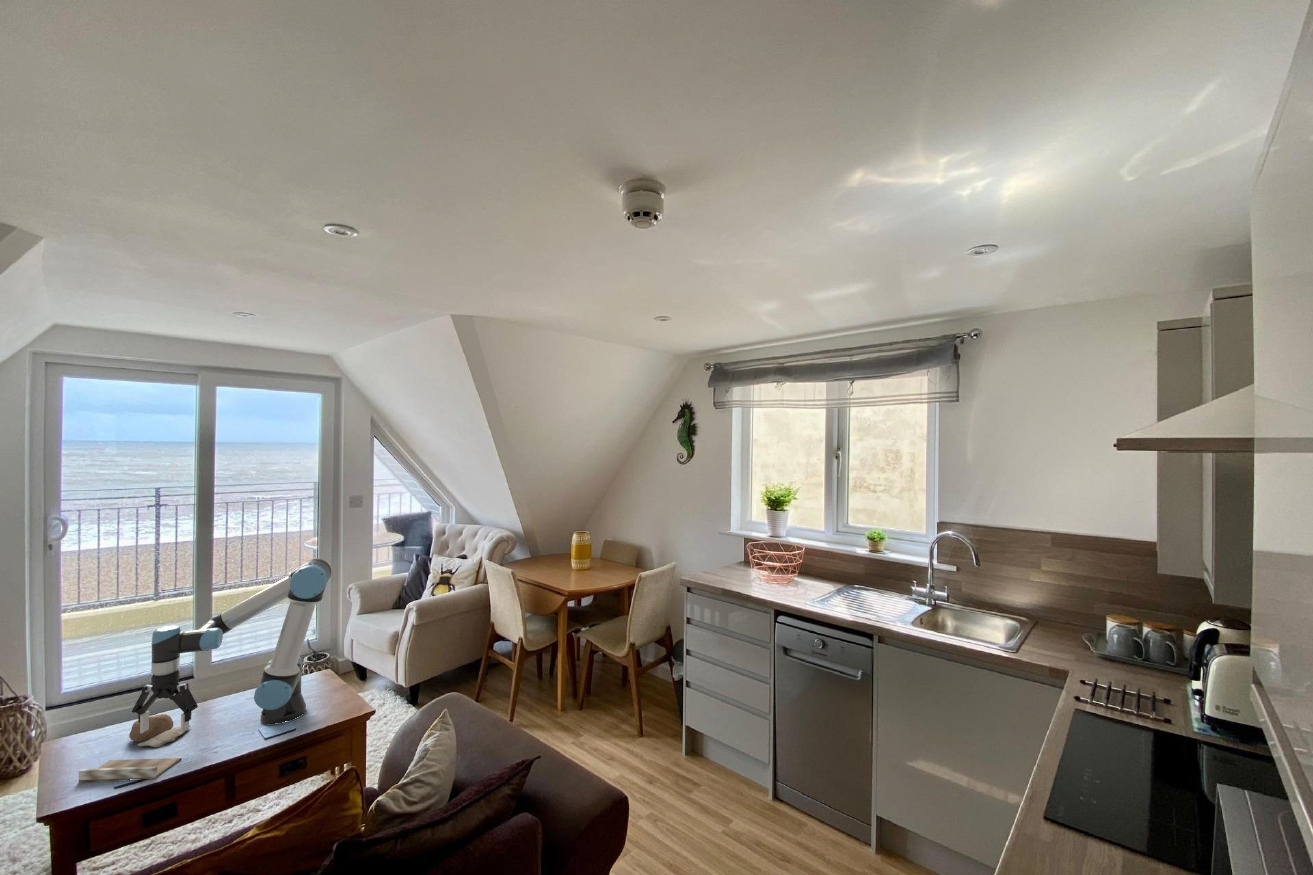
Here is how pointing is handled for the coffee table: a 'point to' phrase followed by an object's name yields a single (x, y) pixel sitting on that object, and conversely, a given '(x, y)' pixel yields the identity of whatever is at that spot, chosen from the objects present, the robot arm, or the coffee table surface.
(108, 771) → the plank
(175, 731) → the artifact
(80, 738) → the coffee table surface
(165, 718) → the stone
